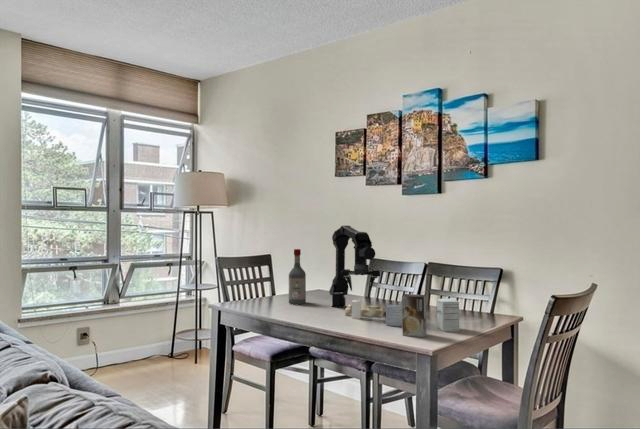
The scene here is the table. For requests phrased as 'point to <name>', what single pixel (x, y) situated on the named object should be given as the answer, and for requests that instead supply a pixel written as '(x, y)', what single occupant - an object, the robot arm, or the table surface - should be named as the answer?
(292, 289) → the liquor
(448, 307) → the supplement box
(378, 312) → the socket block
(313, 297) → the table surface
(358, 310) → the white squarish block
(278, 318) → the table surface
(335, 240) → the robot arm
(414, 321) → the coffee box
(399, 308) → the medicine box
